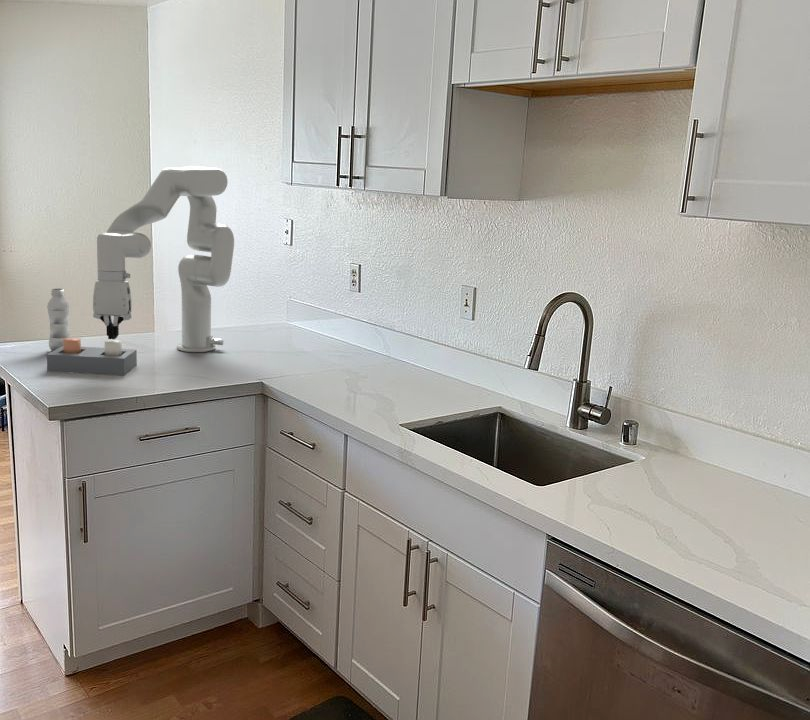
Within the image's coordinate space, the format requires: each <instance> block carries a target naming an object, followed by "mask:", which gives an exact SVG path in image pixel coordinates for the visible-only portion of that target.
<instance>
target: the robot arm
mask: <svg viewBox="0 0 810 720" xmlns="http://www.w3.org/2000/svg"><path fill="white" fill-rule="evenodd" d="M157 175H158V176H157V177H156V178H155V180H154V181H153V183H152V184H151V186H150V187H149V189H148V190H147V192H146V193H145V195H144V196H143V198H142V199H141V200H140V201H138V202H137V203H135V204H133V205H131V206H130V207H129V208H127V209H125V210H124V211H122V212H121V213H120V214H119V215H118V216H116V218H115V219H114V220H113V222H111V225H110V226H109V227H108V229H107V231H106V232H102V233H99V234H98V235H97V237H96V256H97V257H96V260H97V261H96V262H97V266H96V267H97V280H95V282H94V288H93V295H92V298H93V299H92V310H93V315H92V317H93V318H94V319H98V320H101V322H103V324H104V325H105V326H106V336H107V337H108V338H107V339H108V340H117V339H118V337H119V333H120V332H119V331H120V330H119V325H120V324H121V323H122V322H123V321H129V320H131V319H132V310H133V304H132V293H131V286H130V283H129V281H128V280H127V279H130V278H131V273H129V272H127V271H126V258H128V259H129V258H130V259H142V258H145V257H146V256H147V255H149V254H150V252H151V249H152V242H151V240H150V238H149V237H148V236H147V235H145V234H143V233H141V232H136V230H139V229H140V228H142V227H144V226H146V225H150V224H154V223H158V222H160V221H162V220H164V219H166V218H167V217H168V216H169V214H170V212H171V211H172V208H173V207H174V205H175V204H176V203H177V201H178V199H179V198H180V197H186V198H187V200H188V202H189V216H188V226H187V235H186V242H187V245H188V247H189V248H190V249H191V250H193V251H198V252H202V253H204V252H205V253H210V255H211V256H208V255H200V254H189V255H185V256H184V257H182V258H181V260H180V261H179V263H178V266H177V267H178V268H177V269H178V271H177V272H178V277H179V282H180V288H181V342H179V343H177V344H176V348H177V350H179V351H182V352H187V353H207V352H211V351H214V350H216V345H217V346H224V344H225V343H224V341H225V340H224V339H222V338H215V337H214V334H213V333H212V296H211V291H210V289H209V287H216V288H217V287H218V288H219V287H224V286H225V285H226V284H227V283H228V281H229V280H230V277H231V272H232V271H231V270H232V265H233V257H234V256H233V255H234V248H235V237H234V232H233V231H232V229H231V227H229V226H228V225H227V224H226V225H225V224H221V223H217V204H216V202H215V200H214V197H213V196H220V195H221V194H223V193H224V192H225V191H226V189H227V187H228V177H227V174H226V172H224V170H222V169H221V168H219V167H218V168H217V167H207V166H196V165H193V166H192V165H190V166H183V167H175V166H174V167H173V166H172V167H166V168H163V169H162V170H161V171H160V172H159V174H157ZM112 317H113V321H112Z"/></svg>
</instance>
